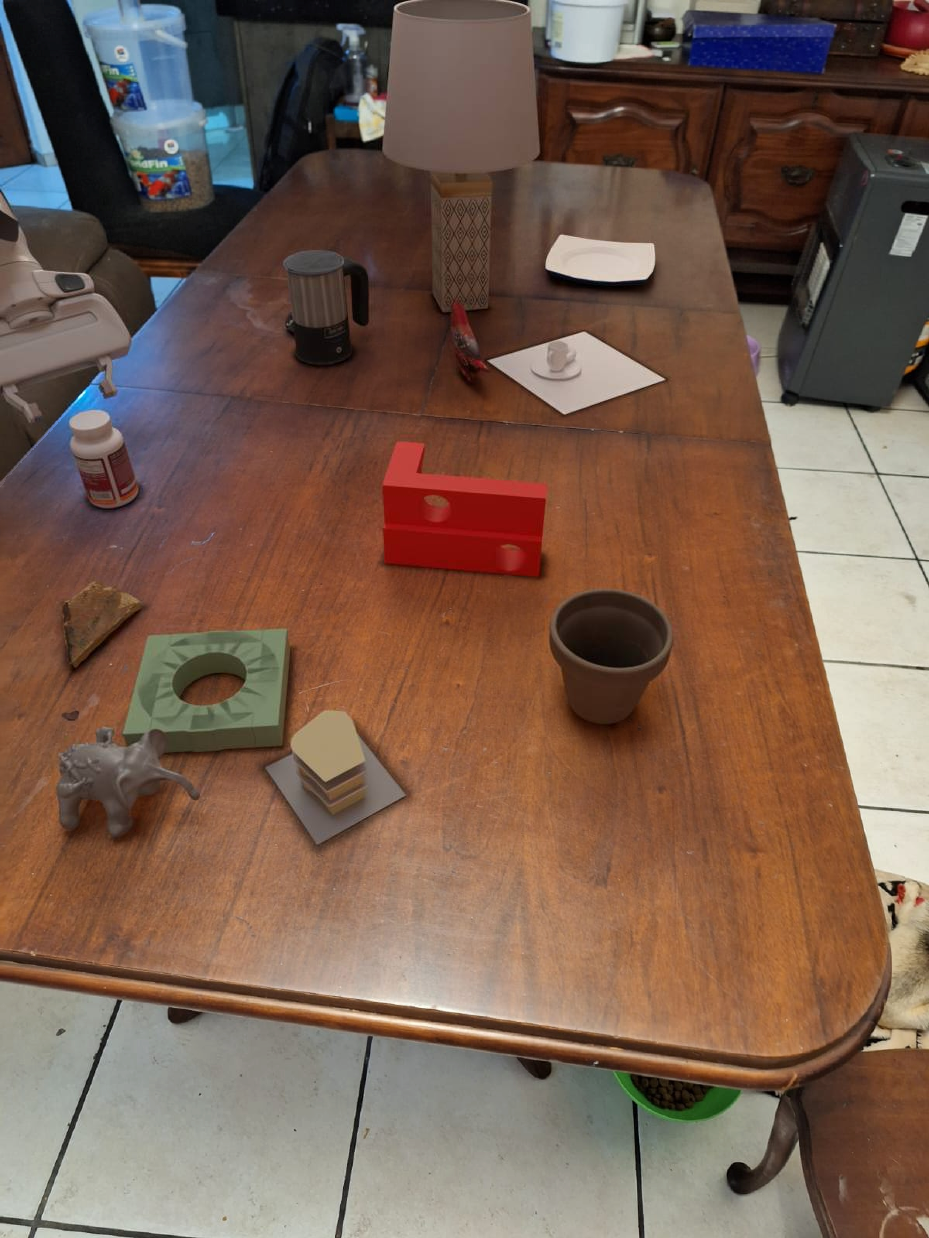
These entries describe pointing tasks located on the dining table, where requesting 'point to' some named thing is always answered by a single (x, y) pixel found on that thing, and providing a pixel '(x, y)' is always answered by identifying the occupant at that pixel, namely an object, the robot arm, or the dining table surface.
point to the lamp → (461, 123)
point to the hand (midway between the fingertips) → (74, 408)
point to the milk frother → (324, 304)
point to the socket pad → (221, 725)
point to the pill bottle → (102, 460)
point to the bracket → (460, 519)
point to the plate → (600, 261)
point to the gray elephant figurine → (113, 777)
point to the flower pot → (608, 650)
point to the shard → (94, 618)
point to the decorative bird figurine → (465, 342)
